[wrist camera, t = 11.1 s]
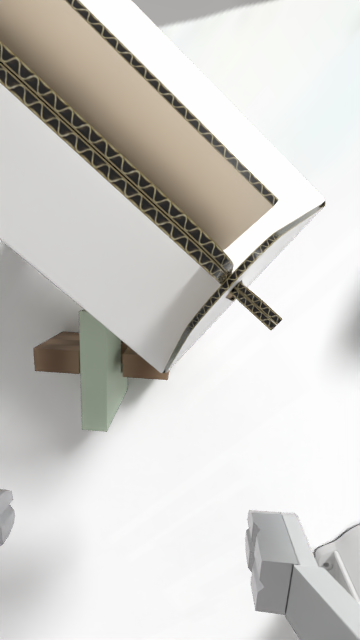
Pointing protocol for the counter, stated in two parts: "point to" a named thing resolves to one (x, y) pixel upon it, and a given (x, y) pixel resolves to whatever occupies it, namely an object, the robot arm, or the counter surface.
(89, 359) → the crosspiece
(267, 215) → the gable box
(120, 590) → the counter surface
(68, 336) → the upright
